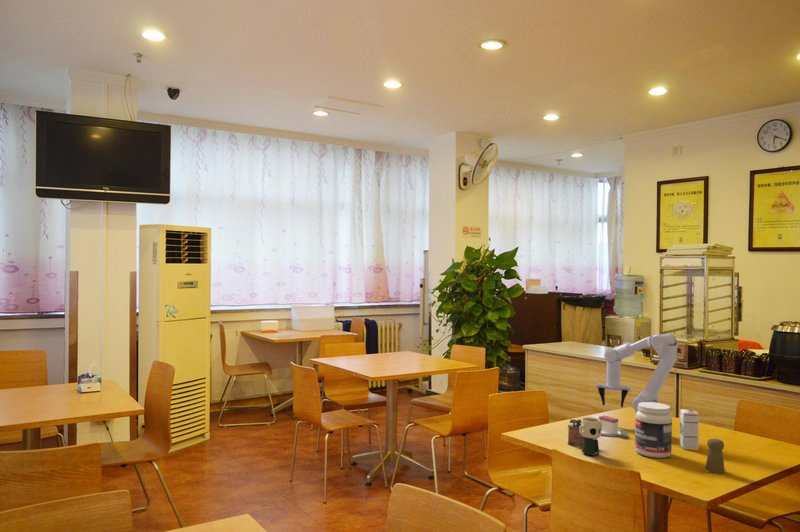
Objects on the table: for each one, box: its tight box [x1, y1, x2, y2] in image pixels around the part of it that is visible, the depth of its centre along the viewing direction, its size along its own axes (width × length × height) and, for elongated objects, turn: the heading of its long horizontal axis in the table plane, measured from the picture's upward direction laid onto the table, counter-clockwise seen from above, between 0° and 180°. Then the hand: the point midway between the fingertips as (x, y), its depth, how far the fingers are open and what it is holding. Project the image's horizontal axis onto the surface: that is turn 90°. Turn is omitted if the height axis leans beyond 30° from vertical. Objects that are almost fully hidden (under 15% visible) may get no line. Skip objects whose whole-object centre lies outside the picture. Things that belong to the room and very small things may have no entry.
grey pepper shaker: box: [705, 438, 726, 475], centre depth 207 cm, size 6×6×11 cm
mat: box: [600, 429, 629, 439], centre depth 253 cm, size 15×11×1 cm
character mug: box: [579, 416, 602, 456], centre depth 223 cm, size 11×7×13 cm, turn 116°
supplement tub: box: [634, 402, 673, 459], centre depth 225 cm, size 13×13×18 cm
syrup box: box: [679, 408, 700, 451], centre depth 234 cm, size 6×6×14 cm
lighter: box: [567, 418, 585, 447], centre depth 235 cm, size 8×3×10 cm, turn 84°
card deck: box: [598, 415, 619, 434], centre depth 253 cm, size 3×7×6 cm, turn 34°
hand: (612, 406), depth 267 cm, fingers open, 7 cm apart
